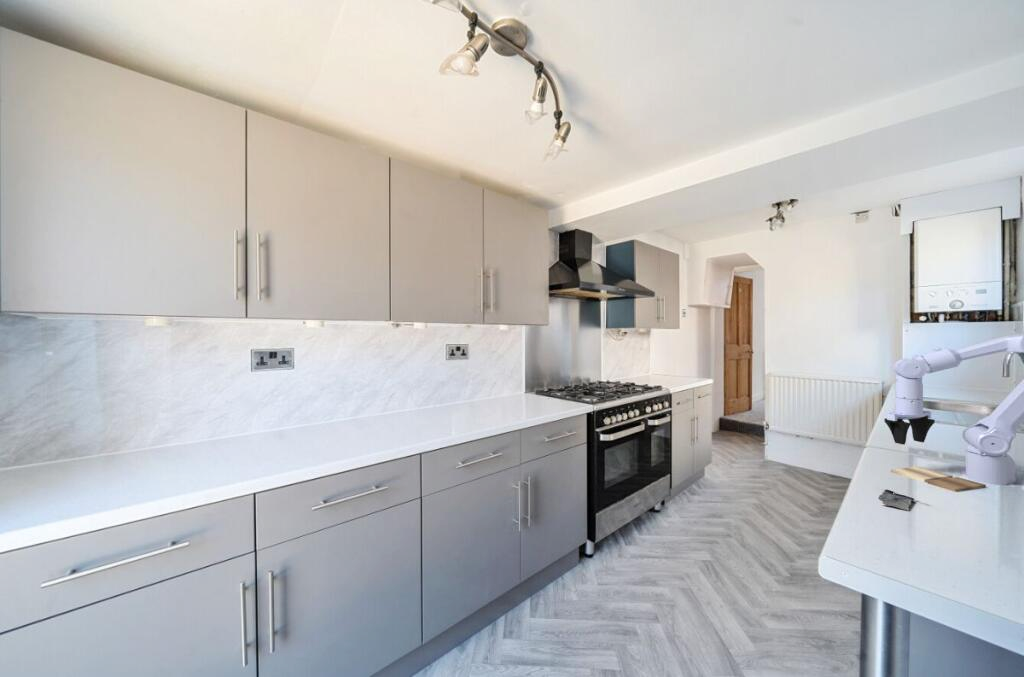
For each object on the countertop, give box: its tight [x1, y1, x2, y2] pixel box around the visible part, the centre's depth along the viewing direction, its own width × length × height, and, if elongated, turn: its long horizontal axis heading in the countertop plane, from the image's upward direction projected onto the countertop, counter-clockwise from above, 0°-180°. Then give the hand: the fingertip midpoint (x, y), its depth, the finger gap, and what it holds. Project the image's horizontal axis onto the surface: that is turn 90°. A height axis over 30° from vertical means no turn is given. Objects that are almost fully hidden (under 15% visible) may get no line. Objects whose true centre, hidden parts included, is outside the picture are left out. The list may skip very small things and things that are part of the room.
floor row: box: [927, 476, 987, 493], centre depth 106 cm, size 11×16×2 cm
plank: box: [890, 465, 954, 483], centre depth 108 cm, size 11×8×2 cm
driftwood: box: [877, 489, 915, 511], centre depth 98 cm, size 21×7×2 cm, turn 122°
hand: (909, 442), depth 113 cm, fingers open, 7 cm apart
